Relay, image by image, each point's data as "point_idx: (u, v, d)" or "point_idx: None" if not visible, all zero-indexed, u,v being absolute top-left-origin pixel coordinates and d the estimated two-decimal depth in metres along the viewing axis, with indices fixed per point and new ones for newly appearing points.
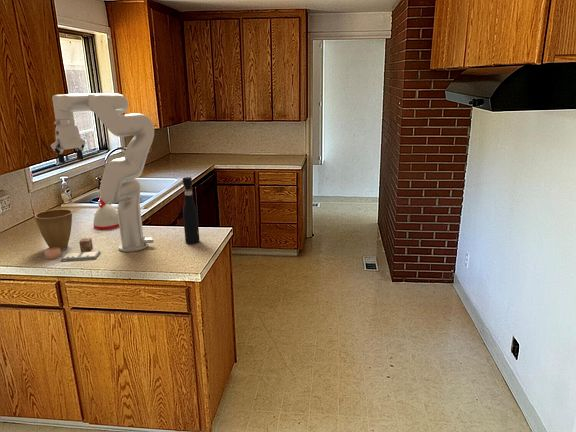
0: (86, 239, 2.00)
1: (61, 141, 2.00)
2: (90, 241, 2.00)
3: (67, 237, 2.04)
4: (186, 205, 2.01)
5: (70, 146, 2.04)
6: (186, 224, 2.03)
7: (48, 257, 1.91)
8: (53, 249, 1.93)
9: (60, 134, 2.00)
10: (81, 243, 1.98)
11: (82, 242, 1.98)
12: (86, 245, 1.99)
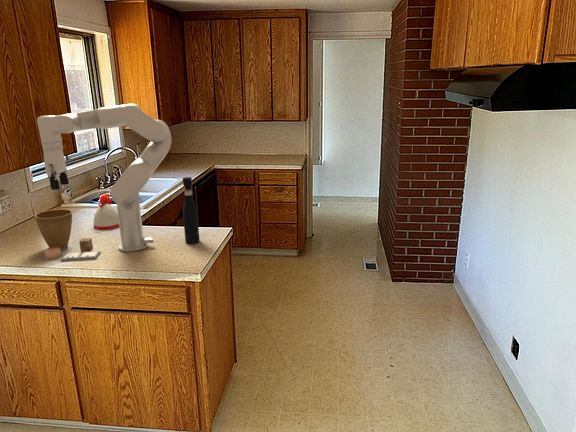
0: (86, 239, 2.00)
1: None
2: (90, 241, 2.00)
3: (67, 237, 2.04)
4: (186, 205, 2.01)
5: None
6: (186, 224, 2.03)
7: (48, 257, 1.91)
8: (53, 249, 1.93)
9: None
10: (81, 243, 1.98)
11: (82, 242, 1.98)
12: (86, 245, 1.99)
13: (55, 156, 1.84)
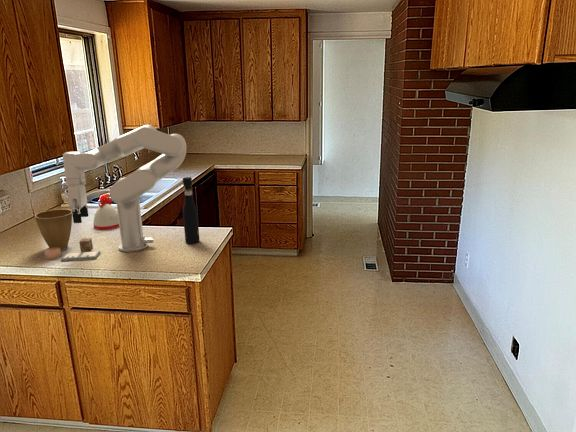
0: (86, 239, 2.00)
1: None
2: (90, 241, 2.00)
3: (67, 237, 2.04)
4: (186, 205, 2.01)
5: None
6: (186, 224, 2.03)
7: (48, 257, 1.91)
8: (53, 249, 1.93)
9: None
10: (81, 243, 1.98)
11: (82, 242, 1.98)
12: (86, 245, 1.99)
13: (79, 191, 1.90)
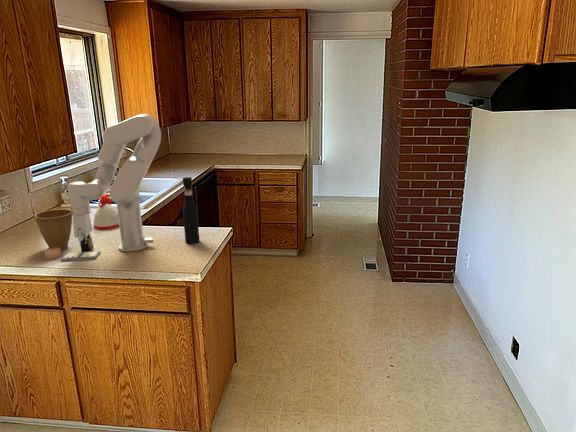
0: None
1: None
2: (90, 240, 2.00)
3: (67, 237, 2.04)
4: (186, 205, 2.01)
5: None
6: (186, 224, 2.03)
7: (48, 257, 1.91)
8: (53, 249, 1.93)
9: None
10: None
11: None
12: None
13: (84, 220, 1.94)
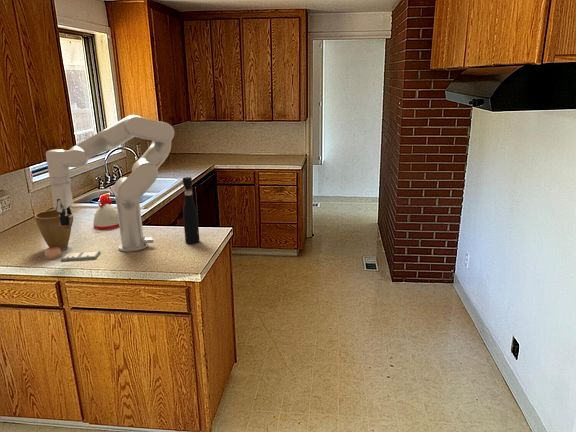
0: (68, 215, 1.89)
1: None
2: (71, 218, 1.89)
3: (67, 237, 2.04)
4: (186, 205, 2.01)
5: None
6: (186, 224, 2.03)
7: (48, 257, 1.91)
8: (53, 249, 1.93)
9: None
10: None
11: None
12: None
13: (63, 191, 1.81)
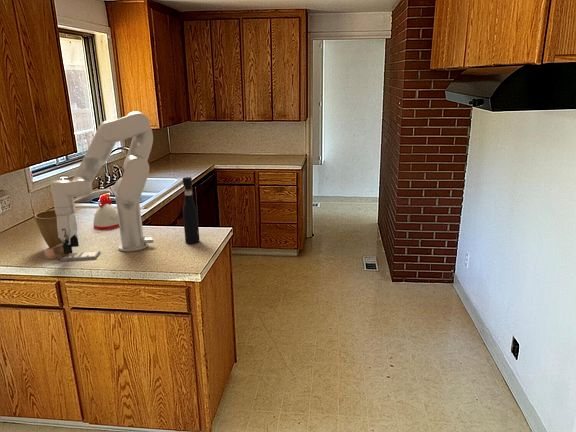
0: (60, 244, 1.91)
1: None
2: None
3: None
4: (186, 205, 2.01)
5: None
6: (186, 224, 2.03)
7: (48, 257, 1.91)
8: None
9: None
10: (54, 250, 1.89)
11: (55, 248, 1.89)
12: (60, 251, 1.89)
13: (68, 221, 1.85)
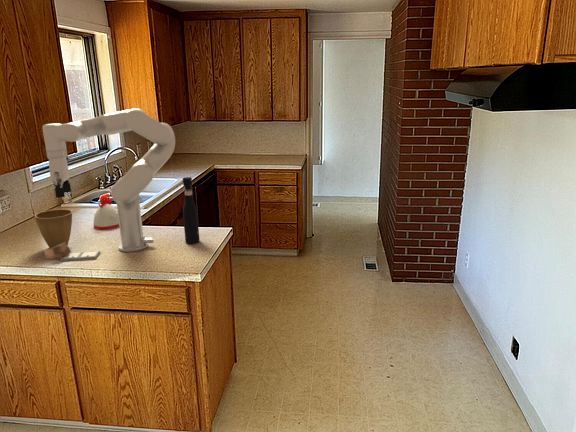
0: (59, 244, 1.91)
1: None
2: (64, 245, 1.91)
3: (67, 237, 2.04)
4: (186, 205, 2.01)
5: None
6: (186, 224, 2.03)
7: (48, 257, 1.91)
8: None
9: None
10: (54, 250, 1.89)
11: (55, 248, 1.89)
12: (59, 251, 1.89)
13: (61, 164, 1.84)
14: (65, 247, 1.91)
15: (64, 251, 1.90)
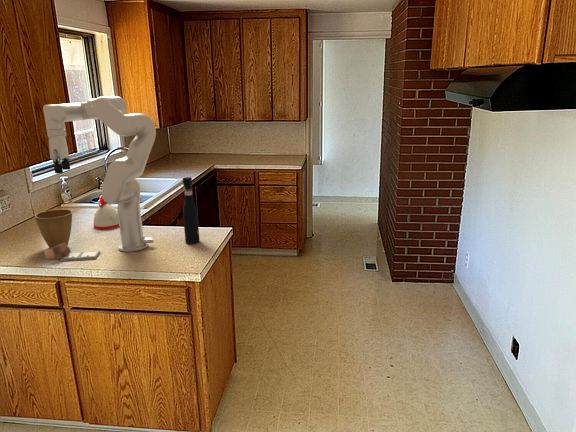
0: (59, 244, 1.91)
1: None
2: (63, 245, 1.91)
3: (67, 237, 2.04)
4: (186, 205, 2.01)
5: None
6: (186, 224, 2.03)
7: (48, 257, 1.91)
8: None
9: None
10: (54, 250, 1.89)
11: (55, 248, 1.89)
12: (59, 251, 1.89)
13: (59, 142, 1.98)
14: (65, 247, 1.91)
15: (64, 251, 1.90)
